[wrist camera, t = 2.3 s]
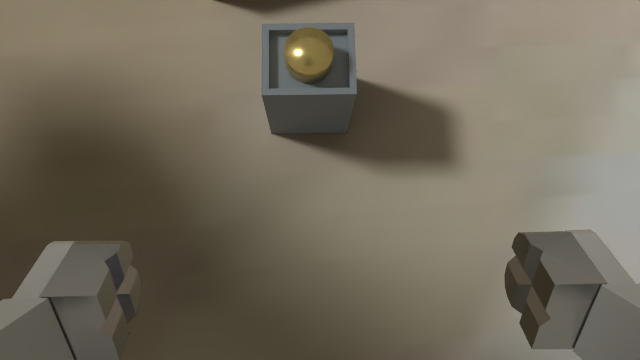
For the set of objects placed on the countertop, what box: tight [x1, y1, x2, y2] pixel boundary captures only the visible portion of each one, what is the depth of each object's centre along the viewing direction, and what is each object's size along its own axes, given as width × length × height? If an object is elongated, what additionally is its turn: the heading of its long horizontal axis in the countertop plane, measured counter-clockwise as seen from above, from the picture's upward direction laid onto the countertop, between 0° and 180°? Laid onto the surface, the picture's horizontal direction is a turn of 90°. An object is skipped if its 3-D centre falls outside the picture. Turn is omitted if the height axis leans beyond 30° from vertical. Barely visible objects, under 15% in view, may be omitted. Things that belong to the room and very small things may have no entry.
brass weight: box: [284, 27, 334, 84], centre depth 29 cm, size 3×3×2 cm
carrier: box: [262, 23, 357, 134], centre depth 33 cm, size 6×4×8 cm
